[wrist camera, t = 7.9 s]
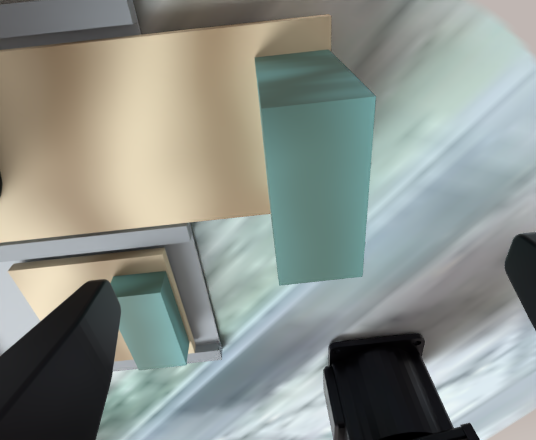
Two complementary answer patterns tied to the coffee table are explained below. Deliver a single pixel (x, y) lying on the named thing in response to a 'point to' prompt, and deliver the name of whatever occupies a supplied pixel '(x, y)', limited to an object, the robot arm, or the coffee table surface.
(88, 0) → the lane board
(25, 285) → the broken strip
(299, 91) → the teal block on board
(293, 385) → the coffee table surface
